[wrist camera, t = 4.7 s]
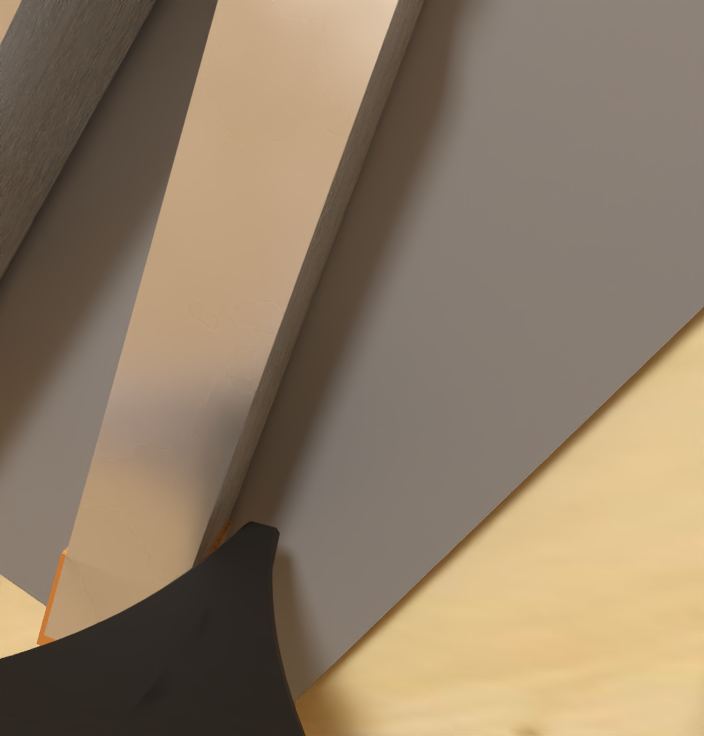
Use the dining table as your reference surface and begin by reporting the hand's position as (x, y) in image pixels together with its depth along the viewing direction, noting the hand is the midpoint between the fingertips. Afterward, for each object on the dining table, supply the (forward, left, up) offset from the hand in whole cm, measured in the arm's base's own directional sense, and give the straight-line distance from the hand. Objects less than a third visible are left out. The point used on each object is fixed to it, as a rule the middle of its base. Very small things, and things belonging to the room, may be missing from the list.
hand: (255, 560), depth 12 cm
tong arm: (+4, -5, -1) cm, 6 cm away
